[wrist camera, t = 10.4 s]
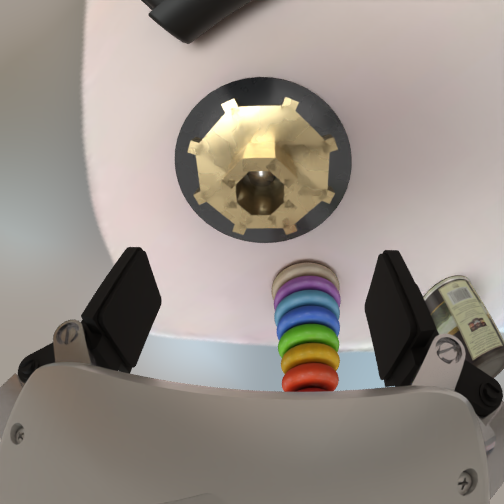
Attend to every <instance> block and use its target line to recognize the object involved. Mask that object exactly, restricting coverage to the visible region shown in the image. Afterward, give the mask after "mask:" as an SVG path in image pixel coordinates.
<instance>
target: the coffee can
mask: <svg viewBox="0 0 504 504" xmlns="http://www.w3.org/2000/svg"><path fill="white" fill-rule="evenodd" d="M423 298H424V300H425V303H426V305H427V307H428V309H429V312H430V314H431V316H432V319H433V321H434V323H435V326H436V328H437V331H438V333H439V335H440V334H450V335H453V336H455V337H456V338H458V339H459V340H460V341H461V343H462V344H463V346H464V348H465V353H466V355H465V360H467V361H468V362H470V363H471V364H473V365H474V366H476V367H477V368H479V369H480V370H482V371H484V372H485V373H487V374H488V375H490V376H491V377H493V378H494V377H496V376H497V375H498V374H499V373H500V372H501V371H502V370H503V369H504V340H503V338H502V336H501V334H500V332H499V330H498V328H497V326H496V325H495V323H494V321H493V319H492V317H491V316H490V314H489V312H488V310H487V309H486V307H485V306H484V304H483V302H482V301H481V299H480V297H479V296H478V294H477V293H476V291H475V290H474V288H473V286H472V285H471V283H470V281H469V280H468V279H467V278H466V277H464V276H453V277H450V278H447V279H445V280H443V281H441V282H440V283H438V284H436V285H435V286H434V287H433V288H432V289H430V290H429V291H428V292H427V294H426V295H425V296H424V297H423Z"/></svg>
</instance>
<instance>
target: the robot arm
mask: <svg viewBox="0 0 504 504" xmlns="http://www.w3.org/2000/svg"><path fill="white" fill-rule="evenodd" d="M160 306H161V296H160V293H159V290H158V287H157V284H156V282H155V279H154V276H153V273H152V270H151V267H150V264H149V260H148V257H147V254H146V252H145V251H143V250H142V248H140V247H128V248H127V249H126V250H125V251H124V252H123V254H122V255H121V257H120V258H119V259H118V261H117V262H116V264H115V265H114V266H113V268H112V269H111V271H110V272H109V274H108V275H107V276H106V278H105V279H104V281H103V282H102V284H101V285H100V287H99V288H98V290H97V291H96V293H95V295H94V296H93V297H92V299H91V301H90V302H89V304H88V306H87V307H86V309H85V310H84V312H83V313H82V315H81V317H82V319H83V320H82V321H81V323H80V322H79V321H77V320H68V321H65V322H64V323H62V324H61V325H60V326H59V327H58V328H57V329H56V331H55V333H54V335H53V343H51V344H49V345H47V346H45V347H44V348H42V349H40V350H38V351H36V352H34V353H32V354H30V355H28V356H27V357H25V358H24V359H23V361H22V362H21V363H20V365H19V369H18V375H17V374H14V375H13V376H12V377H11V378H10V379H8V381H7V382H5V383H4V384H3V385H2V386H1V387H0V438H1V442H0V504H490V499H491V498H492V497H493V495H494V494H495V493H496V492H497V490H498V489H499V488H500V486H501V485H502V483H503V482H504V402H503V401H502V398H503V394H502V389H501V386H500V384H499V383H498V382H497V381H496V380H495V379H494V378H493V377H491V376H490V375H488V374H487V373H485V372H484V371H482V370H480V369H479V368H477V367H476V366H474V365H473V364H471V363H470V362H468V361H467V360H465V355H466V353H465V348H464V346H463V344H462V343H461V341H460V340H459V339H458V338H456V337H455V336H453V335H450V334H440V335H439V333H438V331H437V328H436V326H435V323H434V321H433V319H432V316H431V314H430V312H429V309H428V307H427V305H426V303H425V300H424V298H423V296H422V294H421V292H420V290H419V287H418V286H417V284H415V282H414V280H413V278H412V276H411V274H410V272H409V270H408V268H407V266H406V264H405V262H404V260H403V258H402V256H401V254H400V252H399V251H397V250H385V251H384V252H383V254H379V256H378V260H377V264H376V267H375V271H374V275H373V278H372V282H371V285H370V289H369V292H368V295H367V299H366V302H365V313H366V317H367V321H368V325H369V329H370V334H371V338H372V342H373V347H374V351H375V356H376V361H377V366H378V371H379V376H380V379H381V380H384V383H385V388H375V389H363V390H345V391H324V392H276V391H253V390H252V391H251V390H238V389H226V388H215V387H206V386H198V385H191V384H184V383H177V382H171V381H165V380H159V379H154V378H148V377H143V376H138V375H133V374H130V372H131V369H132V367H135V366H136V364H137V361H138V359H139V356H140V354H141V351H142V349H143V346H144V344H145V341H146V339H147V337H148V334H149V332H150V330H151V327H152V325H153V322H154V320H155V318H156V315H157V313H158V311H159V309H160ZM118 370H119V371H118ZM389 386H395V387H389Z"/></svg>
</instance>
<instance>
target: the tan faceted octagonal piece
mask: <svg viewBox="0 0 504 504" xmlns="http://www.w3.org/2000/svg"><path fill="white" fill-rule="evenodd" d="M298 103H299V102H298V101H295V100H293V99H290V98H288V97H284V99H283V102H282V104H271V105H242V106H240V104H239V102H238V100H237V98H234V99H232V100H230V101H228V102H226V103H224V104H222V107H223V109H224V111H225V114H224V115H223V116H222V118H221V119H220V120H219V121H218V122H217V123H216V124H215V125H214V127H213V128H212V129H211V130H210V131H209V132H208V133H207V135H206V136H205V137H204V138H203V139H200V138H197V137H195V138H193V139H192V140H191V141H190V144H189V148H188V153H191V154H194V155H196V161H197V169H198V177H199V184H200V188H198V189H197V190H196V192H195V193H194V197H195V199H196V200H197V202H198V204H199V205H200V204H203V203H205V202H207V203H209V204H210V205H211V206H212V207H214V208H215V209H216V210H217V211H219V212H220V213H221V214H222V215H224V216H225V217H226V218H227V219H229V220H230V221H231V222H232V223H234V227H233V232H236V233H239V234H242V235H244V233H245V230H246V228H283V229H284V231H285V233H286V235H287V234H290V233H293V232H296V231H297V225H296V222H297V221H299V220H300V219H301V218H302V217H303V216H304V215H306V214H307V213H308V212H309V211H310V210H312V209H313V208H314V207H315V206H316V205H317V204H319V203H320V202H321V201H324V202H326V203H329V204H330V202H331V200H332V198H333V196H334V195H335V192H334V190H333V188H332V187H331V186H328V173H329V153H330V152H332V151H335V150H338V148H337V145H336V142H335V140H334V137H333V136H332V135H331V134H329V135H326V136H323V137H321V136H320V135H319V133H318V132H317V131H316V130H315V129H314V128H313V127H312V126H311V125H310V124H309V123H308V122H307V121H306V120H304V119H303V118H302V117H301V116H300V115H299V114H298V113H297V112H296V111H295V110H296V108H297V106H298ZM249 171H270V172H271V173H272V174H273V175H275V176H276V177H277V178H275V179H274V180H273V181H272V182H271V183H270V184H269V185H268V186H265V187H258V186H255V185H254V184H253V183H252V182H251V181H250V179H249V176H248V175H247V173H248V172H249Z"/></svg>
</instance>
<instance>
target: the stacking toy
mask: <svg viewBox="0 0 504 504" xmlns="http://www.w3.org/2000/svg"><path fill="white" fill-rule="evenodd" d="M272 297H273V300H274V309H275V323H276V326H277V337H278V339H279V344H278V351H279V354H280V356H281V357H282V360H281V368H282V371H283V372H284V374H285V375H284V377H283V379H282V388H283V390H284V392H324V391H334V390H335V389H336V387H337V385H338V381H339V379H338V374H337V372H336V370H337V369H338V367H339V363H340V359H339V355H338V353H337V352H338V349H339V340H338V335H339V331H340V324H339V321H338V320H339V315H340V310H339V307H340V294H339V282H338V279H337V277H336V275H335V274H334V273H333V272H332V271H331V270H330V269H328V268H327V267H325V266H323V265H320V264H316V263H298V264H295V265H292V266H290V267H288V268H286V269H284V270H283V271H282V272H281V273H279V274H278V276H277V277H276V278H275V280H274V282H273V285H272Z"/></svg>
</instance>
